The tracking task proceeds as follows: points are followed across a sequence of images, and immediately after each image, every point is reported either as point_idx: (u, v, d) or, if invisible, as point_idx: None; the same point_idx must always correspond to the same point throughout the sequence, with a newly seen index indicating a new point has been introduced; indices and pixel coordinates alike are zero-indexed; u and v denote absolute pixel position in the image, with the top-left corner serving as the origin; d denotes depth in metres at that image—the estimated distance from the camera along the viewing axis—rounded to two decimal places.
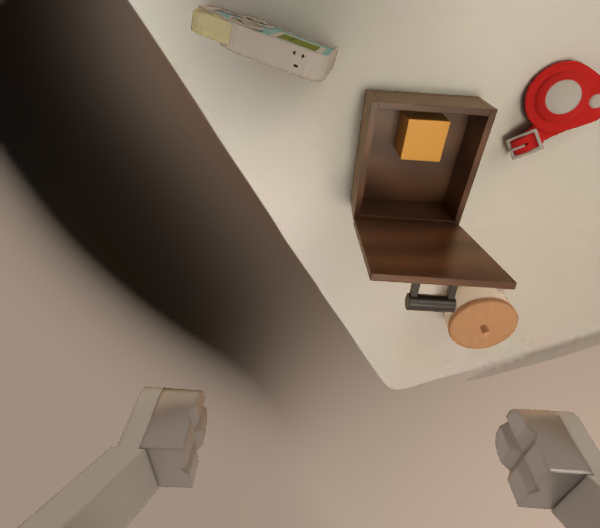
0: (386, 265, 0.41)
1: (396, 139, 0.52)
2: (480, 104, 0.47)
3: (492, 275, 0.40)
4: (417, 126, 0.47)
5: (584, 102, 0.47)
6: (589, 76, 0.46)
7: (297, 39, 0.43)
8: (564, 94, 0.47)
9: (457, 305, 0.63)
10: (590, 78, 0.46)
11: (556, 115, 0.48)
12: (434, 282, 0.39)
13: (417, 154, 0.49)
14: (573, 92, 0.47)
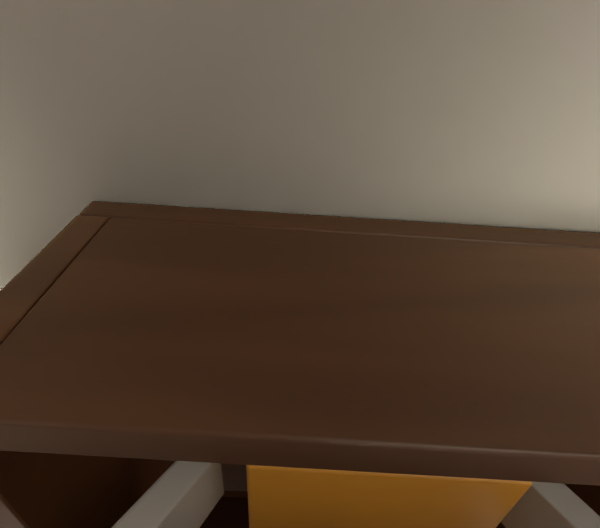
0: None
1: None
2: None
3: None
4: (314, 492, 0.07)
5: None
6: None
7: None
8: None
9: None
10: None
11: None
12: None
13: None
14: None
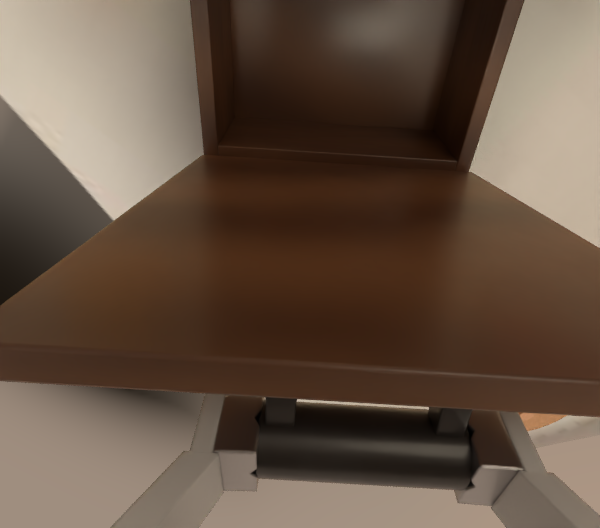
0: (123, 286, 0.08)
1: None
2: None
3: None
4: None
5: None
6: None
7: None
8: None
9: None
10: None
11: None
12: (349, 395, 0.06)
13: None
14: None
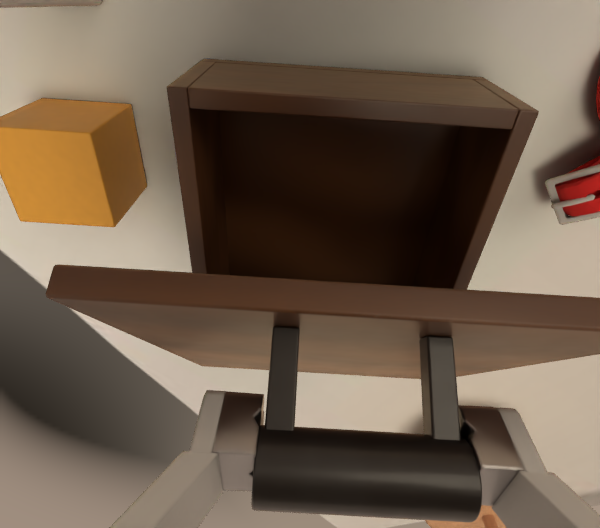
0: None
1: None
2: (488, 95, 0.17)
3: None
4: (13, 144, 0.18)
5: None
6: None
7: None
8: None
9: None
10: None
11: None
12: (340, 306, 0.09)
13: (53, 211, 0.20)
14: None
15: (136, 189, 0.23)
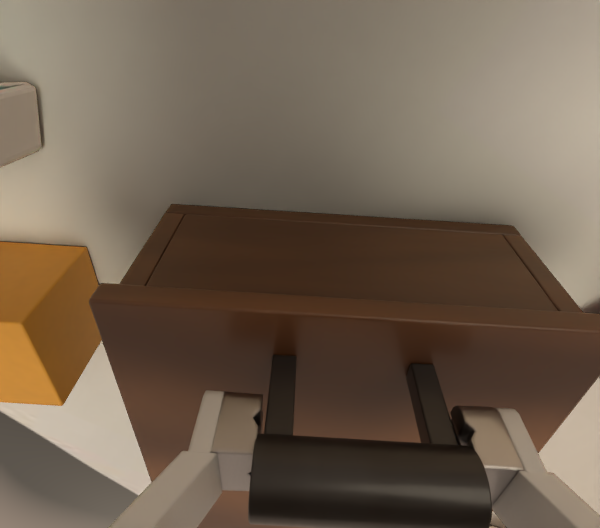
0: None
1: None
2: (527, 286, 0.13)
3: None
4: None
5: None
6: None
7: None
8: None
9: None
10: None
11: None
12: (331, 310, 0.10)
13: None
14: None
15: (95, 339, 0.19)
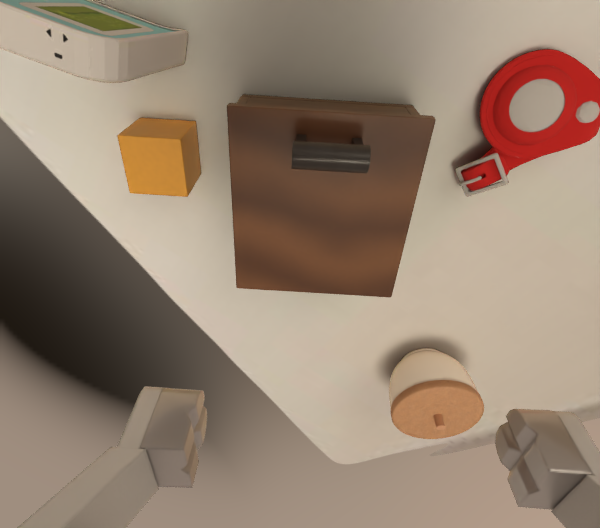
0: None
1: None
2: None
3: None
4: (134, 146, 0.31)
5: (569, 114, 0.30)
6: (576, 73, 0.30)
7: (100, 14, 0.27)
8: (538, 102, 0.30)
9: (401, 386, 0.46)
10: (578, 77, 0.30)
11: (526, 133, 0.31)
12: (319, 110, 0.27)
13: (151, 186, 0.33)
14: (551, 98, 0.30)
15: (196, 175, 0.36)
